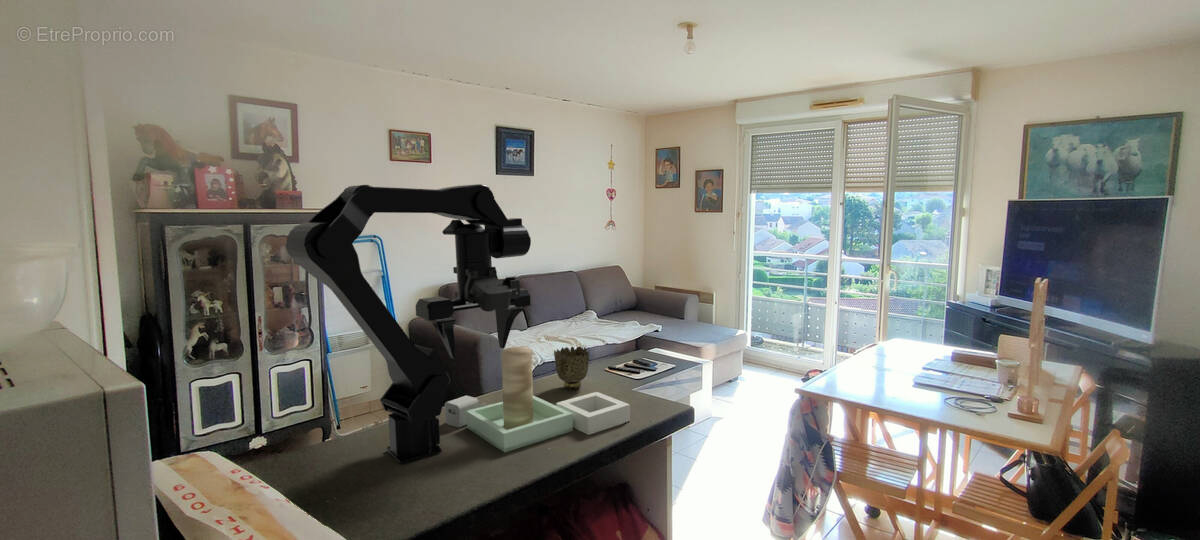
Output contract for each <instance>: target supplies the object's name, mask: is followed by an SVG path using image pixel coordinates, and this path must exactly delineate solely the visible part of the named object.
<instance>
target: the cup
mask: <svg viewBox="0 0 1200 540" xmlns="http://www.w3.org/2000/svg"><path fill="white" fill-rule="evenodd" d="M590 352H591V350H590V349H588V351H587V348H586V347H581V346H577V347H576V348H575V347H574V346H571V347H570V348H569V347H567V346H566V347H561V349H560V350H559V349H558V348H557V349H556V350H555V349H554V350H553V355H554V363H555V369H556V374H557V376H558V378H559V379H560V380H561V381H563V387H564V388H565V389H567V390H570V391H571V390H572V391H573V390H578V389H580V388H581V385H582V381H583V380H585V378H586V376H587V374H588V370H589V362H590Z"/></svg>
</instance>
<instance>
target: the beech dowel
mask: <svg viewBox="0 0 1200 540" xmlns="http://www.w3.org/2000/svg"><path fill="white" fill-rule="evenodd" d="M501 378H502V380H501V381H502V402H503V418H504V428H505V429H506V430H509V429H512V428H516V427H519V426H523V425H526V424H530V423H533V396H534V386H533V384H534V383H533V349H532V348H530V347H524V346H513V347H507V348H506V347H505V348H503V349H502V350H501Z"/></svg>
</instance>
